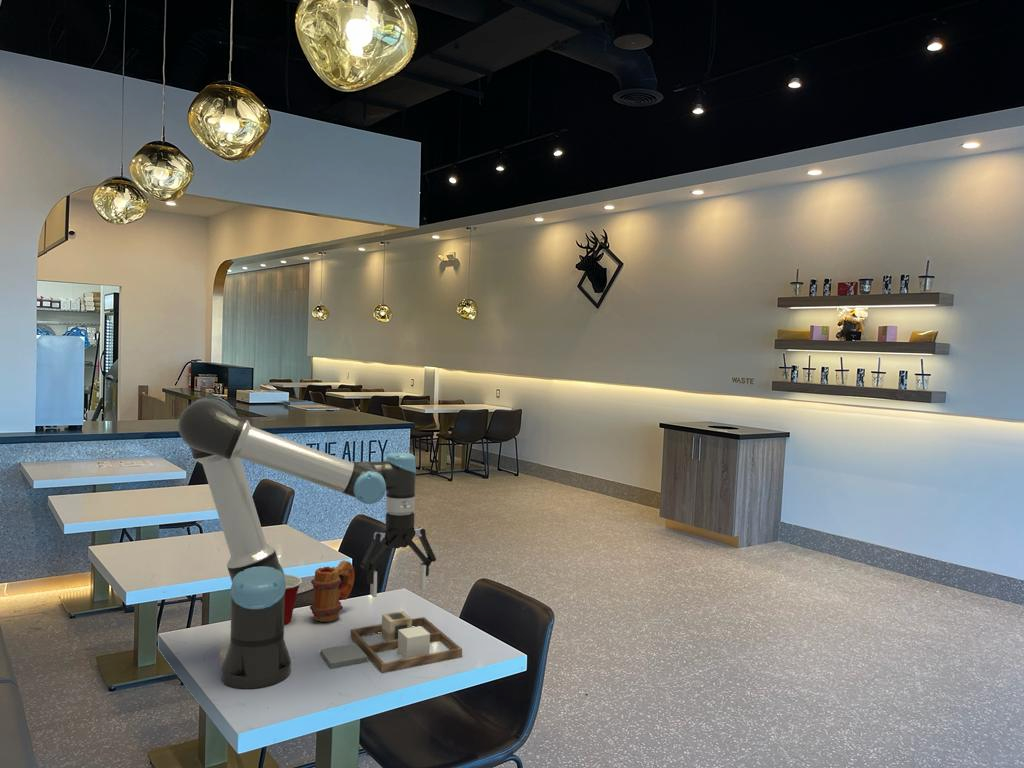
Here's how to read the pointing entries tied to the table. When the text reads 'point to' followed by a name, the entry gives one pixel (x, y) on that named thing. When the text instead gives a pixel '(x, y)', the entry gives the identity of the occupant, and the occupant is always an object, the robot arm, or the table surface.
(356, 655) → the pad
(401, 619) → the letter cube
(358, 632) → the box
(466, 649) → the table surface
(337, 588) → the mug
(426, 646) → the blank block
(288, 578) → the plastic cup
